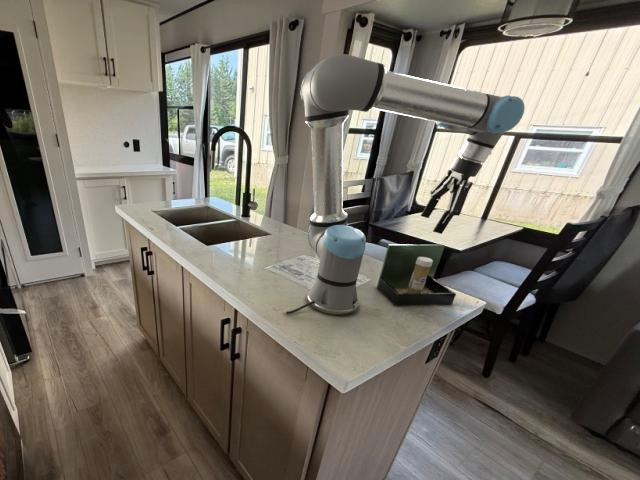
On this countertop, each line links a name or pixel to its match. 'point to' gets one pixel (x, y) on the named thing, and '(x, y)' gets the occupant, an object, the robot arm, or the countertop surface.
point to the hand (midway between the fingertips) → (430, 224)
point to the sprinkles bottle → (419, 275)
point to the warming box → (400, 271)
